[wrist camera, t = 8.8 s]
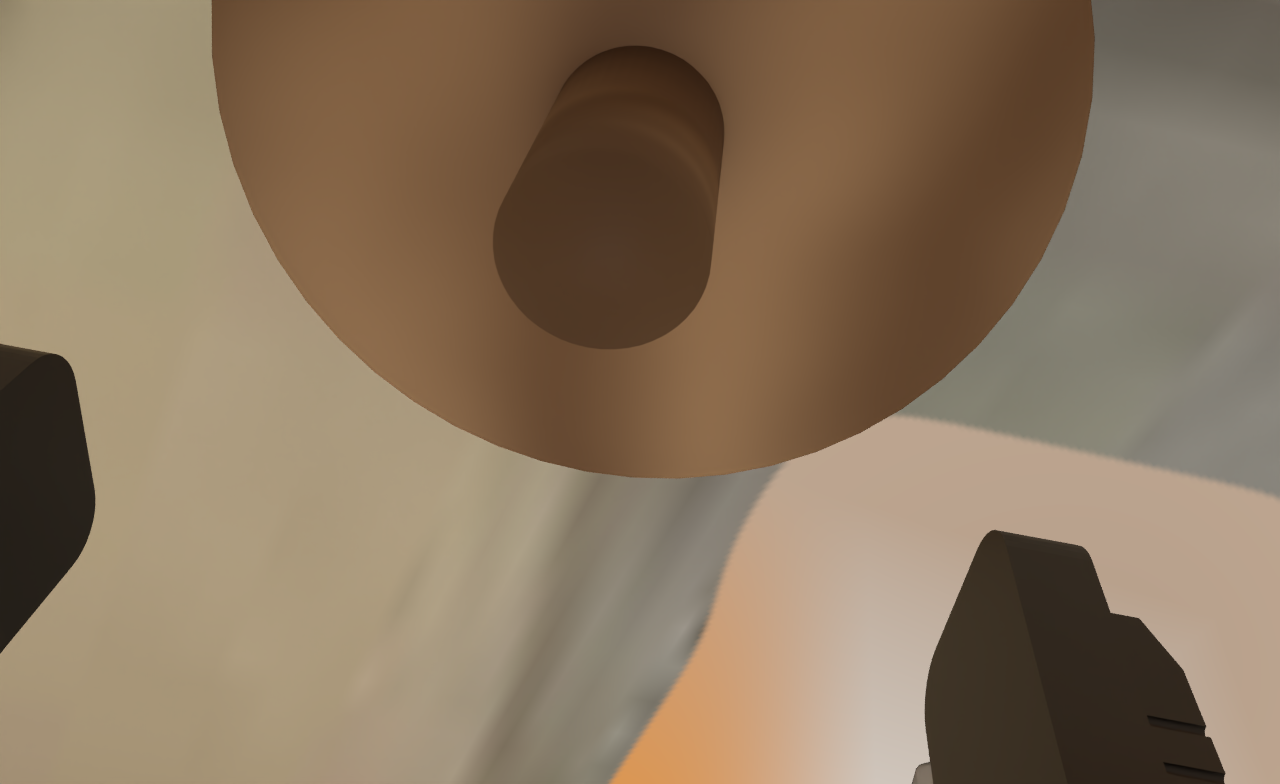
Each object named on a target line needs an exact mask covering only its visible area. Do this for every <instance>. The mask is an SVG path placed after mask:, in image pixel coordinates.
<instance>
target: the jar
mask: <svg viewBox="0 0 1280 784" xmlns="http://www.w3.org/2000/svg"><path fill="white" fill-rule="evenodd" d="M912 784H933V779H932V771H931V764H930V762H928V763H924V764H921V765H919V766H918V767H917V768H916V771H915V775H914V778H913V782H912Z"/></svg>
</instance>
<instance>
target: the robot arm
mask: <svg viewBox="0 0 1280 784" xmlns="http://www.w3.org/2000/svg"><path fill="white" fill-rule="evenodd" d="M94 512H95V490H94V484H93V478H92V472H91V466H90V461H89V455H88V449H87V443H86V438H85V432H84V426H83V420H82V415H81V409H80V403H79V397H78V391H77V386H76V380H75V376H74V373H73V370H72V368H71V366H70V365H69V363H68V362H67V360H65V359H64V358H63V357H62V356H60V355H57V354H52V353H47V352H41V351H36V350H30V349H25V348H20V347H14V346H9V345H3V344H0V653H1V652H2V651H3V649H4V648H5V647H6V646H7V645H8V643H9V642H10V641H11V640H12V639H13V637H14V636H15V635H16V634H17V632H18V631H19V630H20V629H21V628H22V626H23V625H24V624H25V623H26V621H27V620H28V619H29V618H30V617H31V615H32V614H33V613H34V612H35V611H36V609H37V608H38V607H39V606H40V604H41V603H42V602H43V601H44V600H45V598H46V597H47V596H48V595H49V594H50V592H51V591H52V590H53V589H54V587H55V586H56V585H57V584H58V583H59V581H60V580H61V579H62V578H63V577H64V575H65V574H66V573H67V572H68V570H69V569H70V568H71V567H72V566H73V564H74V563H75V562H76V560H77V559H78V557H79V555H80V554H81V552H82V550H83V548H84V546H85V544H86V542H87V539H88V536H89V534H90V531H91V527H92V523H93V518H94ZM925 726H926V734H927V741H928V749H929V757H930V764H931V771H932V779H933V784H1224V775H1225V771H1224V769H1223V767H1222V764H1221V762H1220V759H1219V757H1218V754H1217V752H1216V749H1215V747H1214V744H1213V742H1212V739H1211V738H1210V737H1205V728H1206V725H1205V722H1204V720H1203V717H1202V715H1201V712H1200V710H1199V708H1198V705H1197V703H1196V700H1195V698H1194V695H1193V693H1192V690H1191V688H1190V686H1189V683H1188V681H1187V678H1186V676H1185V673H1184V671H1183V669H1182V668H1181V667H1180V666H1179V665H1178V663H1177V662H1176V661H1175V660H1174V659H1173V658H1172V656H1171V655H1170V654H1169V653H1168V652H1167V651H1166V649H1165V648H1164V647H1163V646H1162V645H1161V644H1160V642H1159V641H1158V640H1157V639H1156V638H1155V637H1154V635H1153V634H1152V633H1151V632H1150V631H1149V630H1148V628H1147V627H1146V626H1145V625H1144V624H1143V623H1142V621H1141V620H1140V619H1139V618H1135V617H1129V616H1124V615H1119V614H1113V613H1110V610H1109V608H1108V604H1107V602H1106V599H1105V596H1104V593H1103V590H1102V587H1101V585H1100V582H1099V579H1098V576H1097V573H1096V571H1095V568H1094V565H1093V562H1092V559H1091V557H1090V555H1089V553H1088V552H1087V551H1086V549H1084V548H1083V547H1082V546H1078V545H1073V544H1067V543H1062V542H1057V541H1052V540H1046V539H1041V538H1035V537H1029V536H1024V535H1019V534H1013V533H1008V532H1003V531H997V530H993V531H990V532H989V533H988V534H987V535H986V536H985V537H984V538H983V540H982V542H981V543H980V545H979V547H978V549H977V551H976V554H975V556H974V559H973V561H972V563H971V566H970V569H969V571H968V573H967V575H966V578H965V580H964V583H963V586H962V588H961V590H960V592H959V594H958V597H957V599H956V602H955V604H954V606H953V609H952V611H951V614H950V616H949V618H948V621H947V623H946V626H945V628H944V630H943V633H942V635H941V638H940V640H939V643H938V645H937V647H936V650H935V652H934V655H933V658H932V662H931V665H930V670H929V674H928V680H927V687H926V696H925Z"/></svg>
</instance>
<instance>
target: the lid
mask: <svg viewBox="0 0 1280 784" xmlns="http://www.w3.org/2000/svg"><path fill="white" fill-rule="evenodd" d="M1094 41H1095V36H1094V26H1093V16H1092V6H1091V0H212V59H213V66H214V73H215V81H216V88H217V96H218V103H219V110H220V115H221V119H222V123H223V126H224V130H225V134H226V138H227V141H228V145H229V149H230V153H231V157H232V160H233V164H234V167H235V169H236V172H237V174H238V177H239V179H240V182H241V185H242V187H243V190H244V192H245V195H246V197H247V200H248V202H249V205H250V207H251V210H252V212H253V215H254V216H255V218H256V220H257V222H258V224H259V226H260V228H261V229H262V231H263V233H264V235H265V237H266V239H267V241H268V243H269V244H270V246H271V248H272V250H273V252H274V254H275V256H276V257H277V259H278V261H279V262H280V264H281V265H282V267H283V268H284V269H285V271H286V272H287V274H288V275H289V277H290V278H291V280H292V281H293V283H294V284H295V285H296V287H297V288H298V290H299V291H300V293H301V294H302V296H303V297H304V298H305V300H306V301H307V302H308V304H309V305H310V306H311V307H312V308H313V309H314V311H315V312H316V313H317V314H318V315H319V316H320V317H321V319H322V320H323V321H324V322H325V323H326V324H327V326H328V327H329V328H330V329H331V330H332V331H333V332H334V334H335V335H336V336H337V337H338V338H339V339H340V340H341V341H342V342H343V343H344V344H345V345H346V346H347V347H348V348H349V349H350V350H352V351H353V352H354V353H355V354H356V355H357V356H358V357H359V358H360V359H361V360H362V361H363V362H364V363H366V364H367V365H368V366H369V367H370V368H371V369H372V370H373V371H374V372H375V373H377V374H378V375H379V376H381V377H382V378H383V379H385V380H386V381H387V382H389V383H390V384H391V385H393V386H394V387H395V388H397V389H398V390H399V391H401V392H402V393H403V394H405V395H406V396H407V397H409V398H410V399H411V400H413V401H414V402H416V403H417V404H419V405H421V406H422V407H424V408H426V409H427V410H429V411H431V412H432V413H434V414H436V415H437V416H439V417H441V418H442V419H444V420H446V421H447V422H449V423H451V424H452V425H454V426H456V427H458V428H460V429H463V430H465V431H467V432H469V433H471V434H473V435H475V436H478V437H480V438H482V439H484V440H486V441H488V442H490V443H493V444H495V445H497V446H500V447H503V448H506V449H508V450H511V451H514V452H517V453H520V454H523V455H526V456H529V457H531V458H534V459H537V460H540V461H544V462H548V463H552V464H557V465H561V466H565V467H570V468H574V469H578V470H582V471H587V472H595V473H602V474H610V475H618V476H626V477H640V478H689V477H701V476H713V475H725V474H731V473H736V472H741V471H746V470H751V469H757V468H762V467H767V466H772V465H775V464H778V463H782V462H785V461H788V460H791V459H795V458H798V457H801V456H804V455H808V454H810V453H814V452H817V451H819V450H822V449H824V448H826V447H829V446H831V445H833V444H836V443H838V442H840V441H843V440H845V439H847V438H849V437H852V436H854V435H856V434H859V433H861V432H863V431H864V430H866V429H868V428H870V427H871V426H873V425H875V424H876V423H878V422H880V421H882V420H883V419H885V418H887V417H889V416H890V415H892V414H894V413H896V412H897V411H899V410H901V409H903V408H904V407H905V406H907V405H908V404H909V403H911V402H912V401H913V400H915V399H916V398H917V397H919V396H920V395H921V394H923V393H924V392H926V391H927V390H928V389H930V388H931V387H932V386H934V385H935V384H936V383H938V382H939V381H940V380H942V379H943V378H944V377H945V376H946V375H947V374H948V373H949V372H950V371H951V370H952V369H954V368H955V367H956V366H957V365H958V364H959V363H960V362H961V361H962V360H963V359H964V358H965V357H966V356H967V355H968V354H969V353H971V352H972V351H973V350H974V349H975V348H976V347H977V346H978V345H979V344H980V343H981V342H982V340H983V339H984V338H985V337H986V336H987V334H988V333H989V332H990V331H991V330H992V328H993V327H994V326H995V325H996V324H997V322H998V321H999V320H1000V319H1001V317H1002V316H1003V315H1004V314H1005V313H1006V311H1007V310H1008V309H1009V308H1010V307H1011V305H1012V304H1013V303H1014V301H1015V300H1016V298H1017V296H1018V295H1019V293H1020V292H1021V290H1022V289H1023V287H1024V285H1025V284H1026V282H1027V281H1028V279H1029V278H1030V276H1031V275H1032V273H1033V271H1034V270H1035V268H1036V267H1037V265H1038V264H1039V262H1040V260H1041V259H1042V257H1043V254H1044V252H1045V250H1046V248H1047V246H1048V244H1049V242H1050V240H1051V238H1052V235H1053V233H1054V231H1055V229H1056V227H1057V225H1058V223H1059V221H1060V218H1061V216H1062V214H1063V212H1064V210H1065V207H1066V204H1067V201H1068V198H1069V195H1070V191H1071V188H1072V185H1073V182H1074V179H1075V176H1076V173H1077V170H1078V166H1079V163H1080V160H1081V157H1082V153H1083V147H1084V141H1085V136H1086V130H1087V125H1088V119H1089V113H1090V108H1091V102H1092V92H1093V67H1094Z"/></svg>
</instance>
